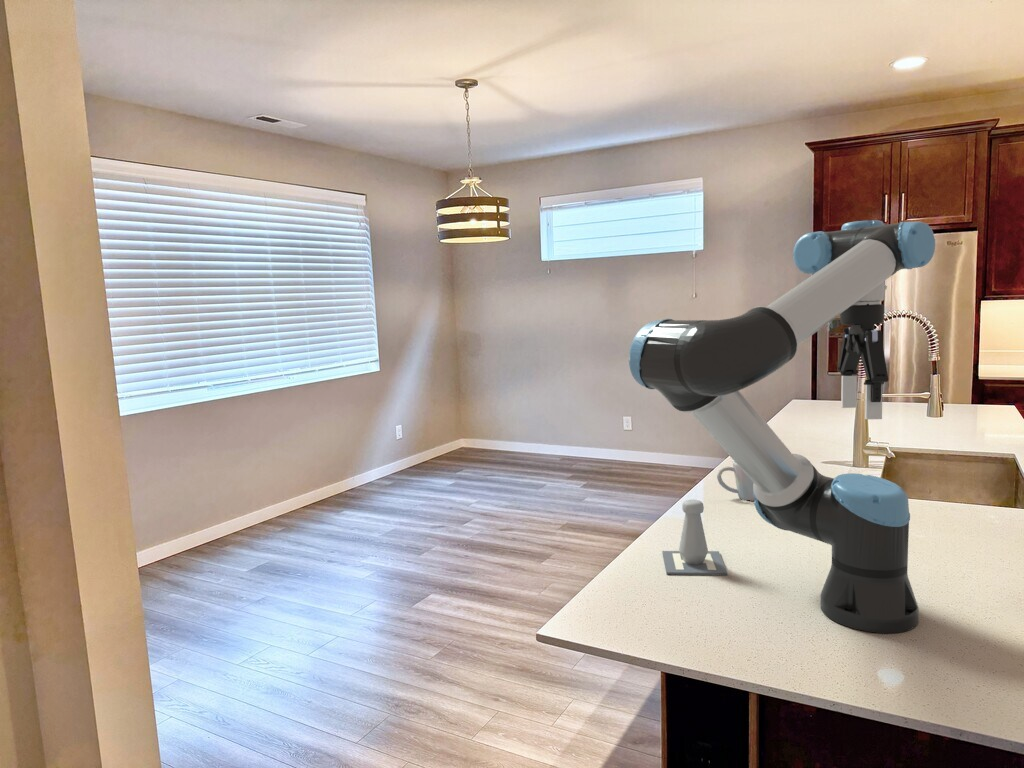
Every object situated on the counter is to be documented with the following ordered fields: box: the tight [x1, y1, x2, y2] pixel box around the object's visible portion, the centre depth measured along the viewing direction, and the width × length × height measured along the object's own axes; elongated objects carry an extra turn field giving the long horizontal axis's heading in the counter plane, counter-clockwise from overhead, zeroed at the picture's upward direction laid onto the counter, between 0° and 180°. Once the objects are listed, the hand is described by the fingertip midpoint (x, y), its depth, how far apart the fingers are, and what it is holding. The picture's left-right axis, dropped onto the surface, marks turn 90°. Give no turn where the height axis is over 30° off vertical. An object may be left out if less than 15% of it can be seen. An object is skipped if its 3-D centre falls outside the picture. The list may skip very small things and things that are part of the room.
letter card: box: [661, 550, 729, 576], centre depth 146 cm, size 12×12×1 cm
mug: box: [716, 460, 756, 502], centre depth 190 cm, size 10×15×10 cm
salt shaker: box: [678, 498, 709, 565], centre depth 145 cm, size 6×6×13 cm
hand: (860, 413), depth 136 cm, fingers open, 13 cm apart
